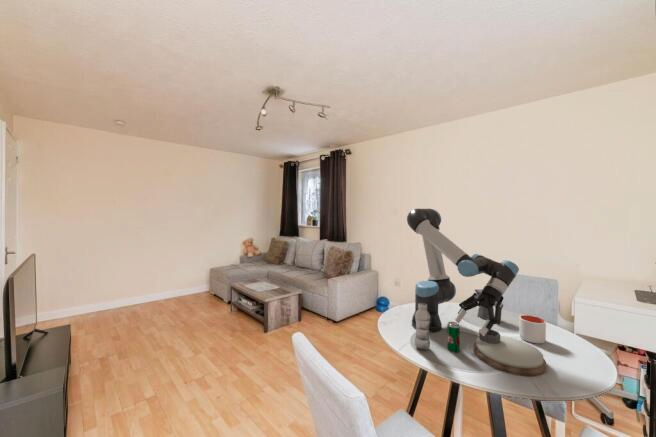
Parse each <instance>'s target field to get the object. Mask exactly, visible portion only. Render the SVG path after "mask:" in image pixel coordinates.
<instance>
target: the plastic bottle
mask: <svg viewBox="0 0 656 437" xmlns="http://www.w3.org/2000/svg"><path fill="white" fill-rule="evenodd" d="M418 308H419V309H418V310H417V312H416V314H415V319H416V328H415V336H414V346H415V347H416V348H417V349H419V350H422V351H427V350H429V349H430V347H431V346H430V345H431V341H430V340H431V339H430V332H429V323H430V314H429V313H428V311H427V304H425V303H418Z"/></svg>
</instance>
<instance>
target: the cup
mask: <svg viewBox="0 0 656 437" xmlns="http://www.w3.org/2000/svg"><path fill="white" fill-rule="evenodd" d="M518 320H519V323H518V324H519V325H518V326H519V329H518V330H519V331H518V333H519V334H518V335H519V337H520V338H521V339H523V340H524V341H526V342H528V343H533V344H543V343H545V342H546V336H547V335H546V332H547V331H546V330H547V329H546V328H547V326H546V325H547V321H546V320H545V319H543V318H541V317H538V316H534V315H529V314H523V315H519V319H518Z"/></svg>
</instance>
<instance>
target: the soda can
mask: <svg viewBox="0 0 656 437" xmlns="http://www.w3.org/2000/svg"><path fill="white" fill-rule="evenodd" d="M446 332H447V333H446V334H447V336H446V337H447V342H446V343H447V344H446V349H448V351H450V352H451V353H454V354H455V353H456V354H457V353H460V351H461V326H460V323H457V321H448V323H447V331H446Z"/></svg>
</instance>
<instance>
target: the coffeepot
mask: <svg viewBox="0 0 656 437" xmlns="http://www.w3.org/2000/svg"><path fill="white" fill-rule="evenodd" d="M482 290H483V288H482V289H474V292H475V293H476V294H477V295H481V293H482ZM499 301H500V302H501V303H502V304H503V301H504V296H503V295H502V297H501V299H500V300H499ZM494 307H496V305H494ZM477 317H478V318H479V317H480V318H479V319H481V318H482V320H485V321H487V319H488V320H489V319H490V318H489V313H488V308H485V307H482V306H478V310H477ZM489 321H490V320H489Z"/></svg>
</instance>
